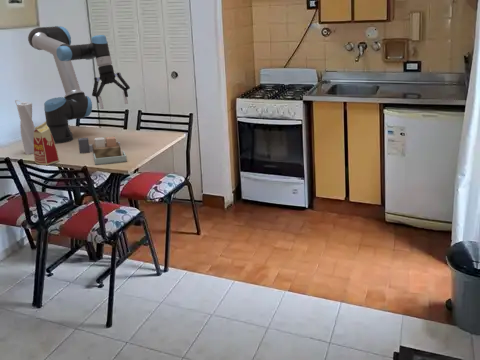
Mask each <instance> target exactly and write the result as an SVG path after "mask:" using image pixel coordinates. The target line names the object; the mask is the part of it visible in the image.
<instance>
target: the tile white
mask: <svg viewBox="0 0 480 360" xmlns="http://www.w3.org/2000/svg"><path fill="white" fill-rule="evenodd" d="M105 143H106V139H105V138H104V136H102V137H95V138H94V144H95V146H96V148H99V147H105Z"/></svg>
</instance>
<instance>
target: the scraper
mask: <svg viewBox="0 0 480 360" xmlns="http://www.w3.org/2000/svg"><path fill="white" fill-rule="evenodd" d="M89 141H90V140H89V137H80V138H77V142H78V149H79V154H89V153H93V147H92V144H90V142H89ZM117 142H118V143H119V145H120V146H121V142H120V141H117Z"/></svg>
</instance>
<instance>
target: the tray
mask: <svg viewBox="0 0 480 360" xmlns="http://www.w3.org/2000/svg"><path fill="white" fill-rule="evenodd" d="M92 155H93V161H94V164H95V166H97V165H107V164H109V165H110V164H117V163H126V162H127V163H128V161H127V160H128V159H127V155H126V153H125V150H122V155H121V156H114V157H104V158H96V157H95V154H92Z"/></svg>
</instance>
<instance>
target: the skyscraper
mask: <svg viewBox="0 0 480 360" xmlns="http://www.w3.org/2000/svg"><path fill="white" fill-rule="evenodd" d="M14 102H15V104H16V108H17V112H18V116H19V119H20V121H19V122H20V136H21V140H22V146H23V149H24V153H25V155H32V154H33V155H34V143H33V142H34V131H35V124H34V120H33V103H32V102H31V101H22V100H20V99H19V100H18V99H15V100H14ZM17 102H20V103H19V104H18V103H17Z"/></svg>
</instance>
